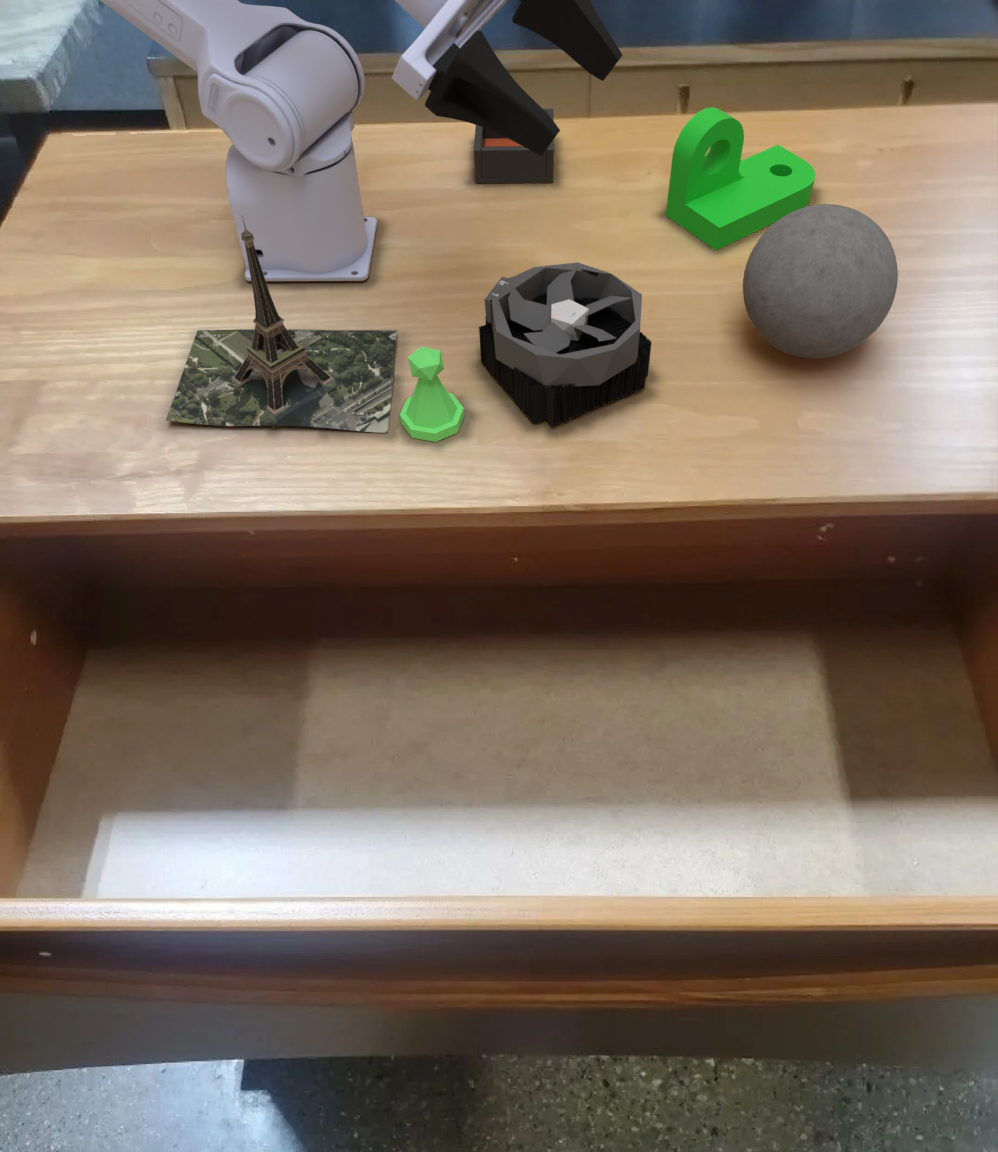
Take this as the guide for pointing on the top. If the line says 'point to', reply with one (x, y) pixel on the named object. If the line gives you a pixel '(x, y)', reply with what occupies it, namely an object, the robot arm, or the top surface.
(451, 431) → the game piece
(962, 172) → the top surface
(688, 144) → the mechanical part
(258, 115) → the robot arm
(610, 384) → the cpu cooler
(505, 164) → the pad holder
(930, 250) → the top surface
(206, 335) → the eiffel tower figurine
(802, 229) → the decorative ball
